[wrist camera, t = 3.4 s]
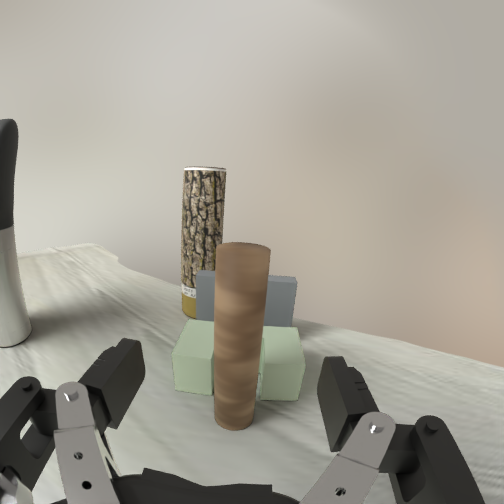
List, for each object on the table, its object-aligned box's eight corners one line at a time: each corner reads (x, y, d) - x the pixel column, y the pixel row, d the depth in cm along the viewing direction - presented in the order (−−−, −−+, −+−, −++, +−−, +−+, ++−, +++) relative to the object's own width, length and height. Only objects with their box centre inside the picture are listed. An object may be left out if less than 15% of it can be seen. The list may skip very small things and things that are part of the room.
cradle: (175, 390, 27) (171, 353, 26) (190, 352, 35) (188, 318, 34) (297, 400, 27) (305, 364, 26) (291, 361, 35) (297, 327, 34)
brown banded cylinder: (212, 428, 22) (212, 252, 18) (217, 402, 26) (220, 240, 22) (252, 431, 22) (271, 257, 18) (253, 405, 26) (269, 244, 22)
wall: (196, 336, 39) (195, 275, 37) (199, 328, 42) (199, 269, 40) (288, 343, 39) (297, 282, 37) (287, 335, 42) (295, 276, 39)
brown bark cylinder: (226, 315, 47) (234, 169, 41) (192, 324, 43) (195, 166, 37) (207, 301, 52) (212, 169, 46) (176, 307, 48) (177, 167, 42)
